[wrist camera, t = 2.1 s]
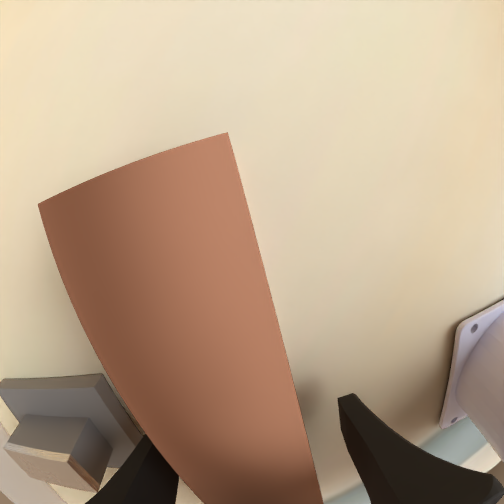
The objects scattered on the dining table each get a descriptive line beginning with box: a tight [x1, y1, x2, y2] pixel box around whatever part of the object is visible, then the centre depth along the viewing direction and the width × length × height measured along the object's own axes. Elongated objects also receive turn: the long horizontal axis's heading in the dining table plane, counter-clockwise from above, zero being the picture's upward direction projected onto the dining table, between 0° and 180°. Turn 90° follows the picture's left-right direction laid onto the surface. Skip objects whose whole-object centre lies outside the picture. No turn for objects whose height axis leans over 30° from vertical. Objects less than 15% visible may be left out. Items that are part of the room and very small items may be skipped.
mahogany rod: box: [38, 132, 323, 504], centre depth 10 cm, size 4×20×5 cm, turn 15°
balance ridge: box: [0, 374, 143, 493], centre depth 10 cm, size 8×6×4 cm
